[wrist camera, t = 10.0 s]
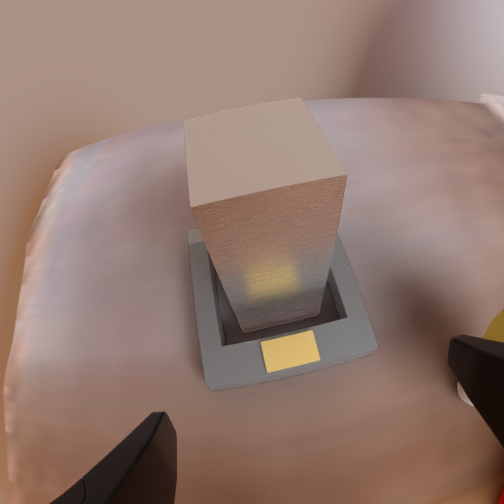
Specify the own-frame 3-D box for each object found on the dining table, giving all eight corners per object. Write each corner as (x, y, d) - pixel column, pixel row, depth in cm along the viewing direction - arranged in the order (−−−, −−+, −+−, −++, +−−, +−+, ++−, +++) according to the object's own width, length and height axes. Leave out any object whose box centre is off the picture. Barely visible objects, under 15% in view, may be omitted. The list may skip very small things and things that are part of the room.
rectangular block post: (318, 315, 20) (347, 174, 10) (243, 333, 20) (190, 207, 9) (298, 252, 23) (300, 97, 12) (230, 267, 23) (183, 120, 12)
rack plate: (370, 354, 18) (379, 345, 16) (213, 391, 18) (205, 387, 16) (321, 218, 24) (324, 199, 22) (194, 245, 24) (186, 228, 22)
